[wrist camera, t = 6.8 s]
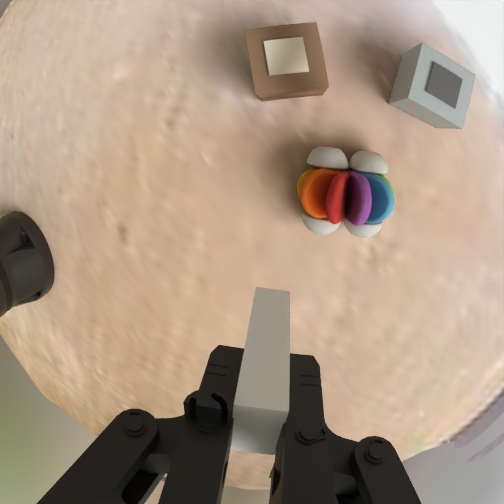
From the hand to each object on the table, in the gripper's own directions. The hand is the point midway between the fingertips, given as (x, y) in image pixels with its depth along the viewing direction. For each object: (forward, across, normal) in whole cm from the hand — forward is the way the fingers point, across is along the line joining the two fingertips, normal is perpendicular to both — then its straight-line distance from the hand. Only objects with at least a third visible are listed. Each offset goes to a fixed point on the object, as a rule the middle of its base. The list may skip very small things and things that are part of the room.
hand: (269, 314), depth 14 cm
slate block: (+19, +14, +15) cm, 28 cm away
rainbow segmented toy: (+19, +6, +3) cm, 21 cm away
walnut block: (+19, 0, +15) cm, 24 cm away
